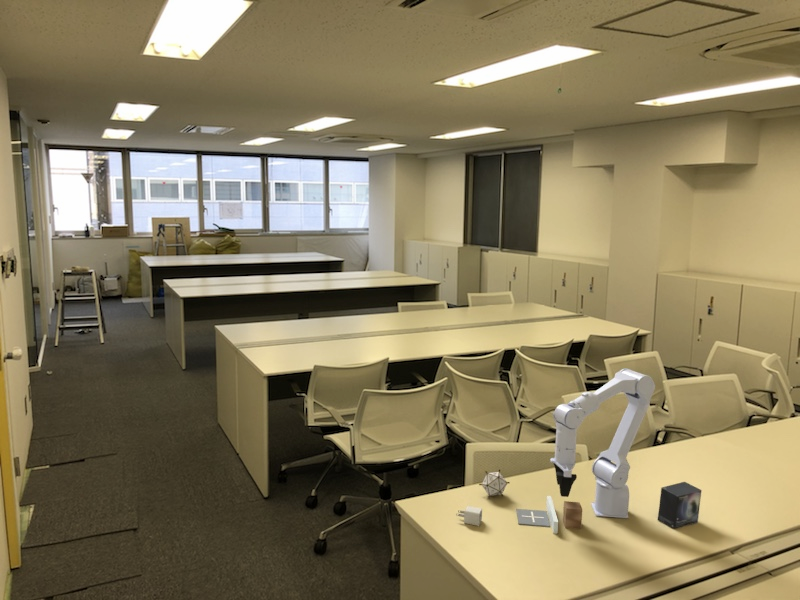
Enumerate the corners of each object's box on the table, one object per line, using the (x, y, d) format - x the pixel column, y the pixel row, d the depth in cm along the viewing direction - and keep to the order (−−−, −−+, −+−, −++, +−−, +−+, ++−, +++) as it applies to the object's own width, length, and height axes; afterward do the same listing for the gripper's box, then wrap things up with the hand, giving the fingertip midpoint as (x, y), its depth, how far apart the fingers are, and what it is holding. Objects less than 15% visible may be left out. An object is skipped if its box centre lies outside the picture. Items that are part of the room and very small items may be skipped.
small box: (675, 530, 179) (678, 496, 177) (656, 520, 184) (659, 487, 183) (699, 522, 184) (702, 489, 182) (680, 513, 189) (683, 480, 188)
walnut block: (578, 521, 183) (579, 502, 182) (580, 529, 178) (582, 509, 177) (562, 520, 183) (564, 501, 182) (565, 527, 179) (566, 508, 178)
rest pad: (546, 511, 188) (546, 510, 188) (550, 526, 179) (550, 525, 179) (516, 509, 189) (516, 508, 189) (518, 524, 180) (518, 523, 180)
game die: (498, 508, 197) (508, 493, 190) (473, 496, 198) (483, 481, 191) (504, 485, 203) (515, 470, 196) (481, 474, 204) (490, 458, 197)
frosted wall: (550, 506, 191) (550, 496, 190) (557, 533, 175) (558, 522, 175) (546, 506, 191) (547, 495, 191) (553, 533, 175) (553, 521, 175)
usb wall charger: (478, 527, 178) (479, 513, 177) (455, 522, 180) (455, 509, 180) (481, 520, 181) (482, 507, 181) (458, 516, 184) (459, 503, 183)
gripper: (548, 435, 187) (546, 478, 189) (554, 454, 173) (551, 500, 175) (572, 437, 186) (569, 480, 188) (580, 456, 172) (577, 502, 174)
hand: (562, 490), depth 181 cm, fingers open, 7 cm apart
